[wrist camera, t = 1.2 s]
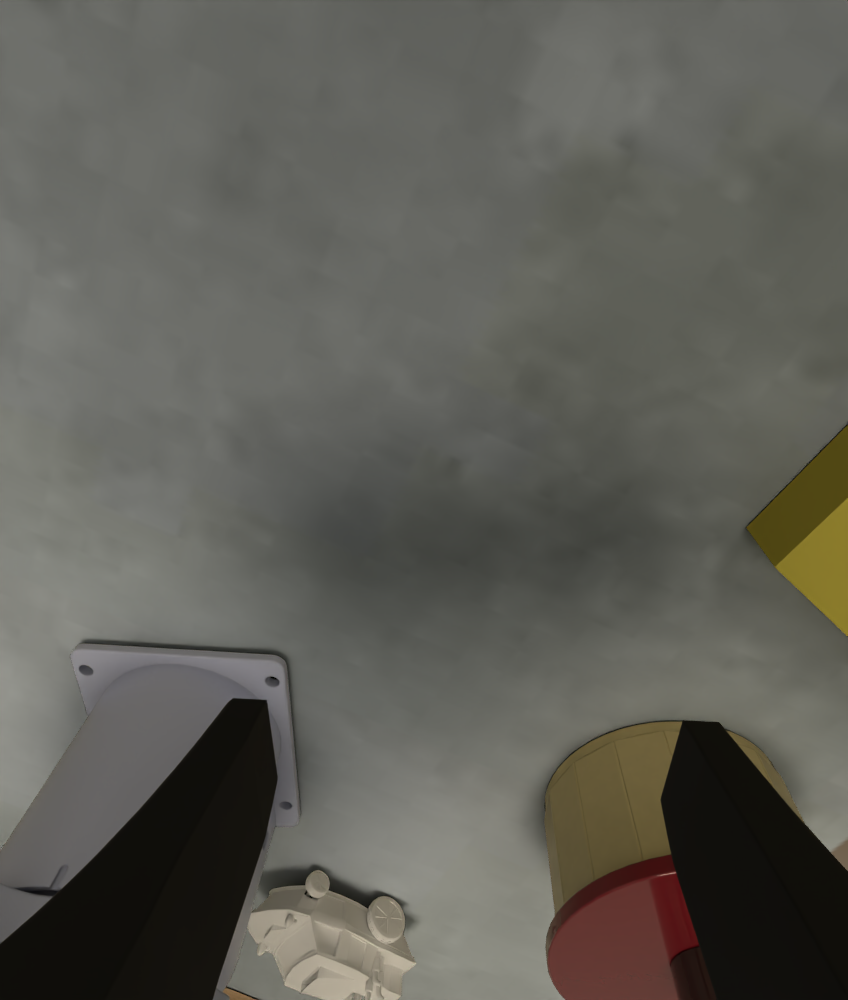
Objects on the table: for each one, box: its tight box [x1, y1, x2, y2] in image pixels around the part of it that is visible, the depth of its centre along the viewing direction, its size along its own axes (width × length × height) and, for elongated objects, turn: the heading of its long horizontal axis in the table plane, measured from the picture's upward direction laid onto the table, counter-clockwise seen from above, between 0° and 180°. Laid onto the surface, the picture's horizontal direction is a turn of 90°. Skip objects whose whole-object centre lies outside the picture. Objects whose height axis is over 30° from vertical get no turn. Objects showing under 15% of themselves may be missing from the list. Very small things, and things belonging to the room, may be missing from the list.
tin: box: [544, 721, 804, 915], centre depth 25 cm, size 9×9×6 cm
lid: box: [545, 854, 717, 1000], centre depth 21 cm, size 10×10×4 cm
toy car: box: [247, 870, 416, 1000], centre depth 30 cm, size 5×8×4 cm, turn 58°
